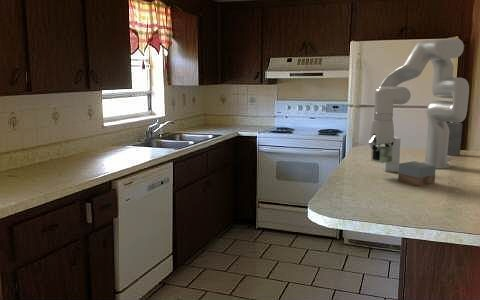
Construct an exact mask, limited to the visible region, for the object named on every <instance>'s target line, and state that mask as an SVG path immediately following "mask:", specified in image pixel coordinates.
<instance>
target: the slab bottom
mask: <svg viewBox="0 0 480 300" xmlns="http://www.w3.org/2000/svg"><path fill="white" fill-rule="evenodd" d="M397 177H398V178H397V182H400V183H403V184H407V185H411V186H414V187H423V186H429V185H434V184H435V182H436V181H435V180H436V174H435V175H432V176H427V177H421V178H417V177H413V176H409V175H404V174H400V173H398V176H397Z"/></svg>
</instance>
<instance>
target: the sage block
mask: <svg viewBox="0 0 480 300" xmlns="http://www.w3.org/2000/svg"><path fill="white" fill-rule="evenodd" d="M376 147H377V145H376ZM379 151H380V157H379V160H374V159H373V150H372V149H371V156H370V157H371V159H370V161H372V162H375V163H381V164H383V163H385V162H391V161H392V147H387V146H384V145H380V148H379Z"/></svg>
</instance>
